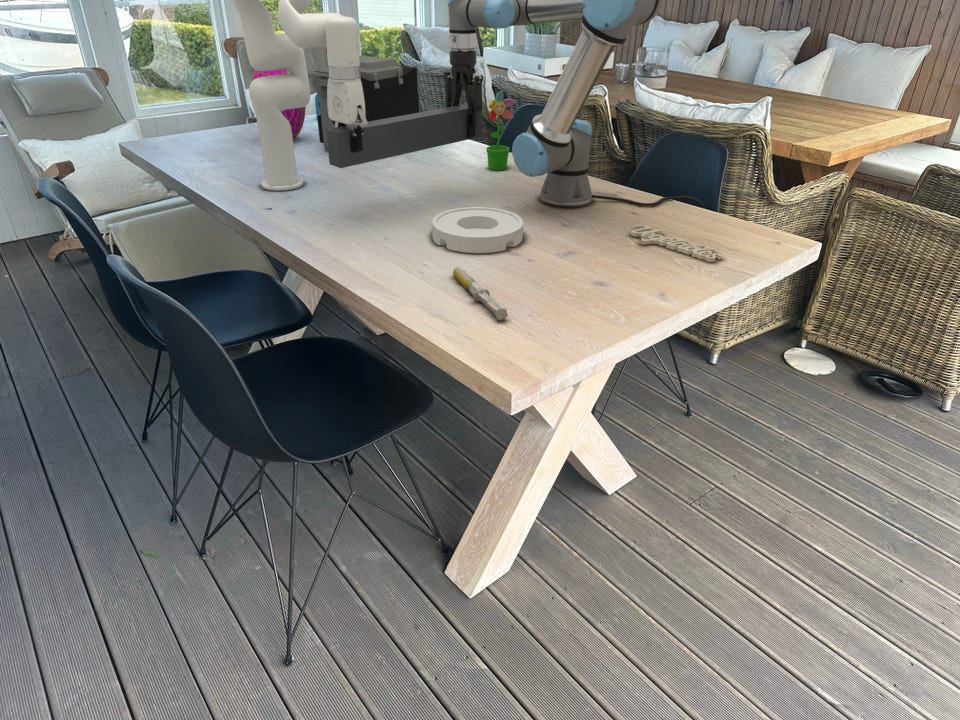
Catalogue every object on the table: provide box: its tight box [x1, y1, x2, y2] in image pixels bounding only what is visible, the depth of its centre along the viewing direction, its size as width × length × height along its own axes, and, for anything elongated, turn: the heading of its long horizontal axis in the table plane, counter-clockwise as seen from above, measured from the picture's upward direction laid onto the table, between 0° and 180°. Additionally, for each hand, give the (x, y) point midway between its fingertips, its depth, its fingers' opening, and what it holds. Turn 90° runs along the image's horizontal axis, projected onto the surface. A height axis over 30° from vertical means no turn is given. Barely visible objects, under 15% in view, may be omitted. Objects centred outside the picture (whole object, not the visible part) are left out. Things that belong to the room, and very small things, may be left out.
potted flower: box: [486, 90, 517, 171], centre depth 227 cm, size 9×8×25 cm
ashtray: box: [431, 206, 524, 254], centre depth 175 cm, size 23×23×4 cm
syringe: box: [452, 266, 509, 321], centre depth 145 cm, size 25×4×3 cm, turn 21°
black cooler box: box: [310, 55, 421, 151], centre depth 250 cm, size 37×22×30 cm, turn 144°
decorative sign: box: [630, 224, 722, 263], centre depth 172 cm, size 26×1×10 cm
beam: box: [326, 103, 483, 169], centre depth 188 cm, size 51×5×9 cm, turn 136°
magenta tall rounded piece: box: [251, 69, 307, 139], centre depth 257 cm, size 19×19×30 cm
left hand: (350, 148), depth 176 cm, fingers closed on beam, 5 cm apart
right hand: (464, 135), depth 203 cm, fingers closed on beam, 5 cm apart
